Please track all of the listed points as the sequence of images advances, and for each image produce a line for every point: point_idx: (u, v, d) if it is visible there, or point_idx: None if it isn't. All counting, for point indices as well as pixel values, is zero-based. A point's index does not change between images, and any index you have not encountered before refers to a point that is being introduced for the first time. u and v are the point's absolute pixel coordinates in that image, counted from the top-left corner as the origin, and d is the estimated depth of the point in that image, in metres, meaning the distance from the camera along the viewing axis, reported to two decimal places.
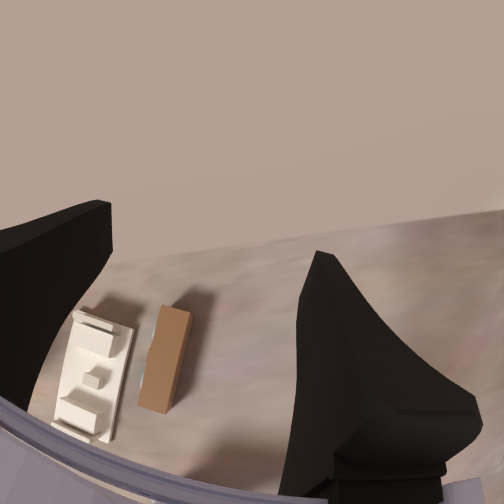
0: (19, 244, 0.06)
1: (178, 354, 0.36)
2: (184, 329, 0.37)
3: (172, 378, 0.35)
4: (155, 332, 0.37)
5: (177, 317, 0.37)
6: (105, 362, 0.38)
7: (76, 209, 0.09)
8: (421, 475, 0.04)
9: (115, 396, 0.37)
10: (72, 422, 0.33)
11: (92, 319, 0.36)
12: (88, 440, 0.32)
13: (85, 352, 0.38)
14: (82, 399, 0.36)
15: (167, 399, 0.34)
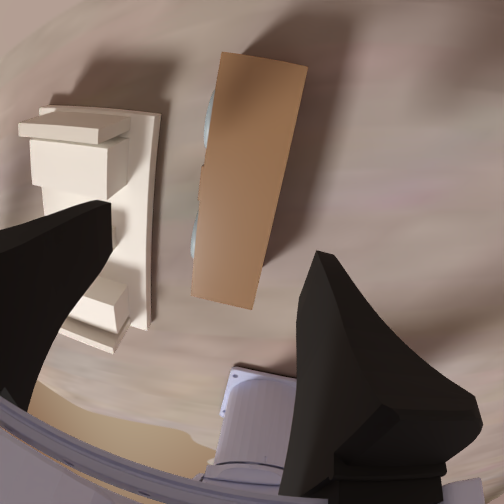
0: (19, 244, 0.06)
1: (279, 180, 0.14)
2: (294, 114, 0.13)
3: (266, 238, 0.16)
4: (212, 128, 0.13)
5: (271, 81, 0.12)
6: (111, 197, 0.19)
7: (76, 209, 0.09)
8: (421, 475, 0.04)
9: (143, 258, 0.21)
10: (80, 317, 0.22)
11: (54, 128, 0.14)
12: (111, 348, 0.22)
13: None
14: None
15: (255, 282, 0.17)
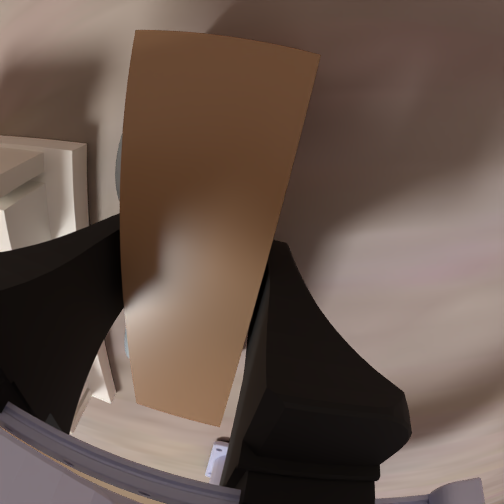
0: (67, 260, 0.06)
1: (255, 285, 0.08)
2: (286, 160, 0.06)
3: (234, 361, 0.09)
4: (126, 185, 0.07)
5: (237, 86, 0.05)
6: None
7: (118, 219, 0.09)
8: (347, 477, 0.04)
9: None
10: None
11: None
12: None
13: None
14: None
15: (222, 404, 0.11)
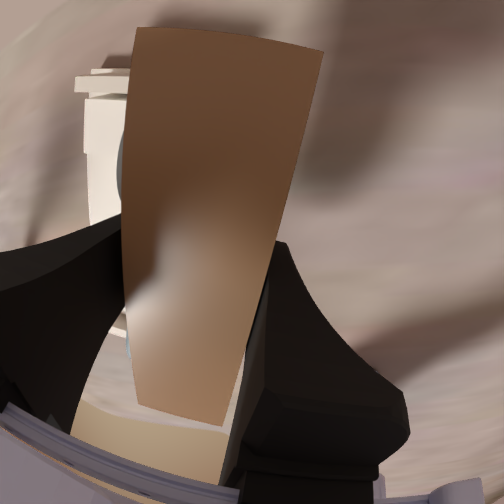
0: (68, 260, 0.06)
1: (258, 283, 0.08)
2: (290, 157, 0.06)
3: (237, 360, 0.09)
4: (127, 183, 0.07)
5: (239, 83, 0.05)
6: None
7: (119, 219, 0.09)
8: (345, 477, 0.04)
9: None
10: None
11: (127, 80, 0.12)
12: None
13: None
14: None
15: (224, 404, 0.11)
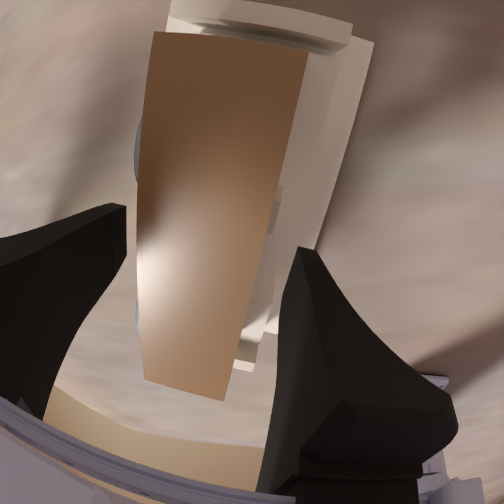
0: (36, 250, 0.06)
1: (257, 251, 0.09)
2: (282, 139, 0.07)
3: (237, 328, 0.10)
4: (143, 164, 0.08)
5: (240, 78, 0.06)
6: None
7: (92, 213, 0.09)
8: (395, 476, 0.04)
9: (315, 235, 0.16)
10: None
11: (260, 7, 0.08)
12: (251, 365, 0.16)
13: None
14: None
15: (226, 376, 0.12)
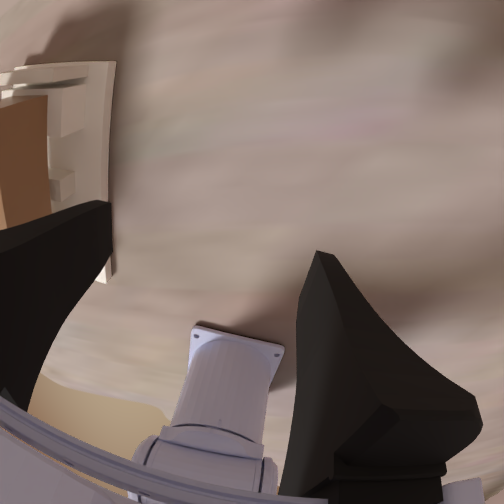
0: (19, 244, 0.06)
1: (2, 204, 0.13)
2: None
3: None
4: None
5: None
6: (70, 142, 0.18)
7: (76, 209, 0.09)
8: (421, 475, 0.04)
9: None
10: None
11: (19, 74, 0.13)
12: None
13: None
14: None
15: None
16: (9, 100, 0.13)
